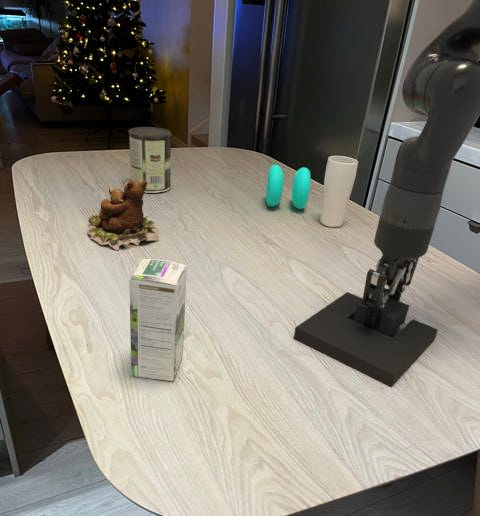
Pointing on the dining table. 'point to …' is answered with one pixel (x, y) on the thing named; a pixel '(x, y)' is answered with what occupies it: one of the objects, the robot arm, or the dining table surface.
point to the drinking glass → (337, 189)
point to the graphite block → (385, 315)
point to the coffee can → (151, 157)
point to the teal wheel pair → (298, 191)
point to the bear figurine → (123, 218)
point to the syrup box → (157, 318)
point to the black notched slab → (364, 340)
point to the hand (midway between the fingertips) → (380, 318)
